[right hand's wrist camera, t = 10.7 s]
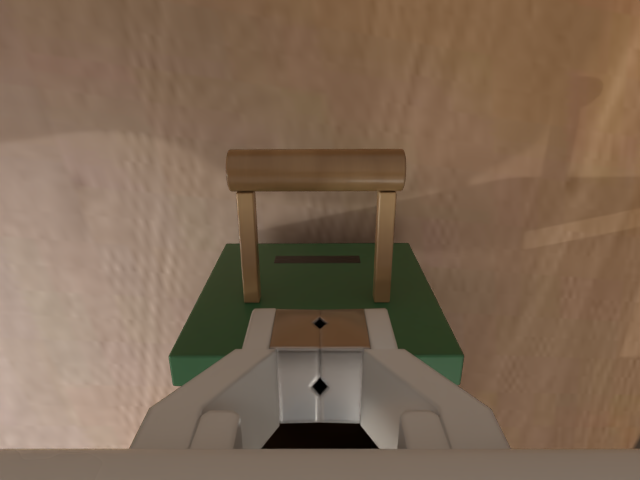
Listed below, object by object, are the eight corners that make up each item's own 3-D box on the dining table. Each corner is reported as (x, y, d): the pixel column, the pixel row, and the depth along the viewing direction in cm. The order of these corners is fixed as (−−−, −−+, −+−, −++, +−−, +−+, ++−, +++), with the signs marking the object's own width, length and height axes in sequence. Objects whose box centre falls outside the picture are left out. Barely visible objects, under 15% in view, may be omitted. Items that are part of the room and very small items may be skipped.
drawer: (215, 126, 21) (139, 174, 12) (417, 126, 21) (490, 173, 12) (248, 503, 30) (219, 689, 21) (389, 503, 30) (418, 688, 21)
